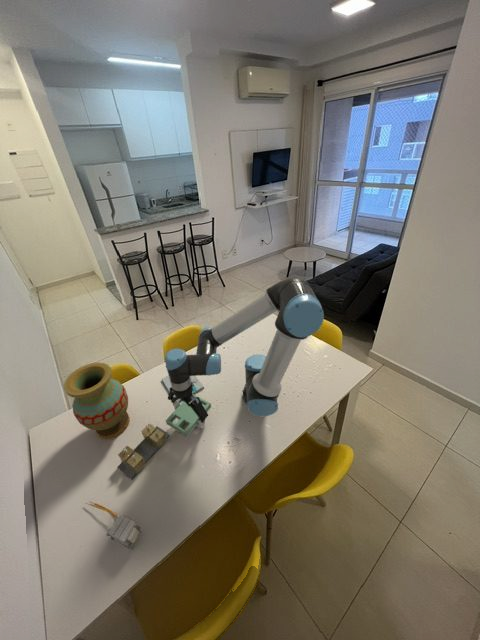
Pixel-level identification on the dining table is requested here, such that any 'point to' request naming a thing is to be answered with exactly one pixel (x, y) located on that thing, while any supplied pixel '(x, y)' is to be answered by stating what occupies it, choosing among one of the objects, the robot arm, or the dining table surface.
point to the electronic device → (194, 380)
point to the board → (186, 417)
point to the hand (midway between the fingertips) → (190, 418)
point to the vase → (98, 400)
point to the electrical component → (122, 529)
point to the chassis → (142, 451)
